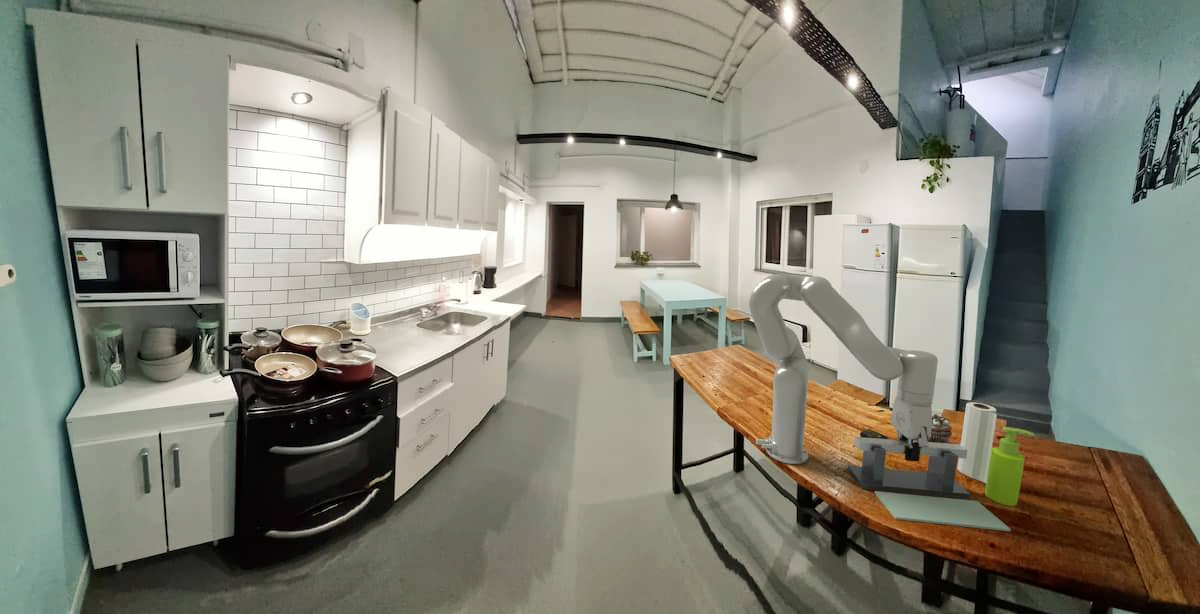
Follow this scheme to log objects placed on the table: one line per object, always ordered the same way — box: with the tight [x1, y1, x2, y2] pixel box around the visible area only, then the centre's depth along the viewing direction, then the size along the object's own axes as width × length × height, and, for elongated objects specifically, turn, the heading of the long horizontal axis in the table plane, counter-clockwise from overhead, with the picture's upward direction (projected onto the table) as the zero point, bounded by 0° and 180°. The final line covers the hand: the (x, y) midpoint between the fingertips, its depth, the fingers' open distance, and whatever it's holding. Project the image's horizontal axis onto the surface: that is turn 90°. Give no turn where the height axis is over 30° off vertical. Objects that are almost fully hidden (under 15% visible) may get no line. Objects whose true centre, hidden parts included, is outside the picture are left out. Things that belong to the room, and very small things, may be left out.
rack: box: [846, 447, 972, 500], centre depth 104 cm, size 26×9×12 cm, turn 78°
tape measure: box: [859, 428, 889, 439], centre depth 127 cm, size 7×7×4 cm
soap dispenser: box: [984, 426, 1036, 507], centre depth 96 cm, size 6×7×20 cm
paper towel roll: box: [956, 401, 998, 484], centre depth 107 cm, size 7×6×21 cm
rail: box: [854, 436, 968, 459], centre depth 103 cm, size 26×3×2 cm, turn 78°
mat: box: [874, 490, 1012, 532], centre depth 94 cm, size 24×10×1 cm, turn 78°
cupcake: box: [915, 413, 953, 444], centre depth 125 cm, size 10×10×10 cm
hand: (907, 456), depth 104 cm, fingers closed on rail, 3 cm apart
